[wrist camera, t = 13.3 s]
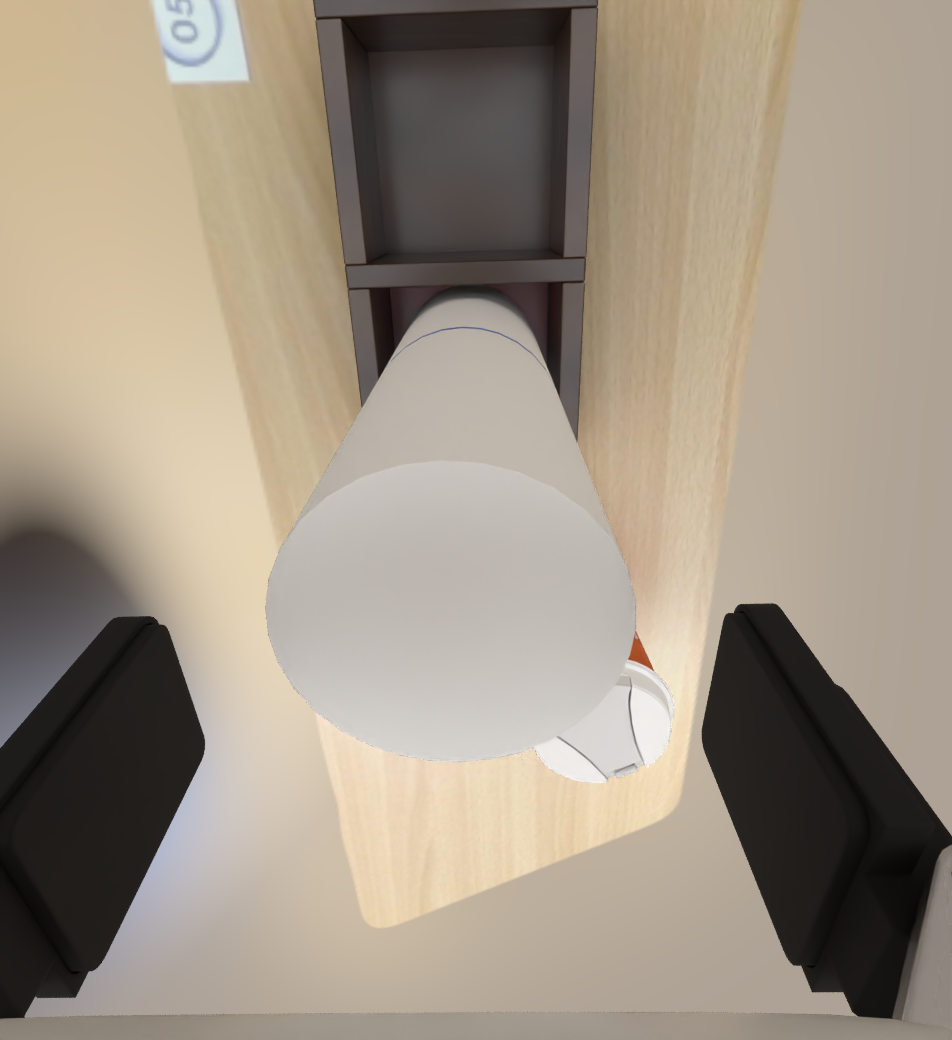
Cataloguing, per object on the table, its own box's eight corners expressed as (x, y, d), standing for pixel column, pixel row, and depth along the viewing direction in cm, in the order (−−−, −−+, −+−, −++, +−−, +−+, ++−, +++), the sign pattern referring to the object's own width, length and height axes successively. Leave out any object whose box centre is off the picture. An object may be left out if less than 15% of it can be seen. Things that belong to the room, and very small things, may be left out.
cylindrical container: (547, 296, 33) (686, 493, 11) (521, 423, 36) (587, 779, 14) (413, 274, 32) (264, 430, 10) (400, 404, 36) (265, 741, 13)
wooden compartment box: (347, 31, 29) (310, -16, 22) (573, 22, 28) (599, -29, 22) (389, 438, 38) (370, 485, 32) (560, 434, 38) (575, 480, 31)
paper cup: (640, 596, 43) (704, 757, 31) (542, 640, 45) (565, 808, 32) (592, 509, 40) (642, 649, 27) (489, 560, 42) (492, 712, 29)
